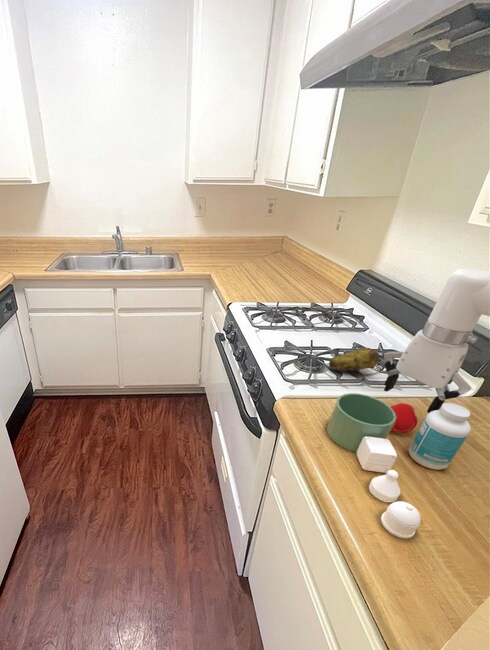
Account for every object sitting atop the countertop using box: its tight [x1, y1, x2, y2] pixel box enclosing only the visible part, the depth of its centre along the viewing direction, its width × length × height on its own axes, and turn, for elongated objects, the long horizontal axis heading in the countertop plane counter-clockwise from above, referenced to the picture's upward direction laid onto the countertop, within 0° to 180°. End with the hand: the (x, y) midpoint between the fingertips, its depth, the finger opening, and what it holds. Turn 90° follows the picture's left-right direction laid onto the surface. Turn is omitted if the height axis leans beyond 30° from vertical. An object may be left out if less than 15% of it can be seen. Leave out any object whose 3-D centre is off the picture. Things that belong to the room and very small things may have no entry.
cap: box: [390, 402, 419, 434], centre depth 83 cm, size 8×6×6 cm
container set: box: [356, 436, 422, 539], centre depth 66 cm, size 20×5×6 cm, turn 170°
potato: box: [328, 347, 380, 372], centre depth 104 cm, size 8×13×8 cm, turn 65°
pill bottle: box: [408, 402, 472, 471], centre depth 72 cm, size 8×7×14 cm
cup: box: [326, 392, 396, 453], centre depth 79 cm, size 12×12×8 cm
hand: (408, 399), depth 80 cm, fingers open, 9 cm apart
